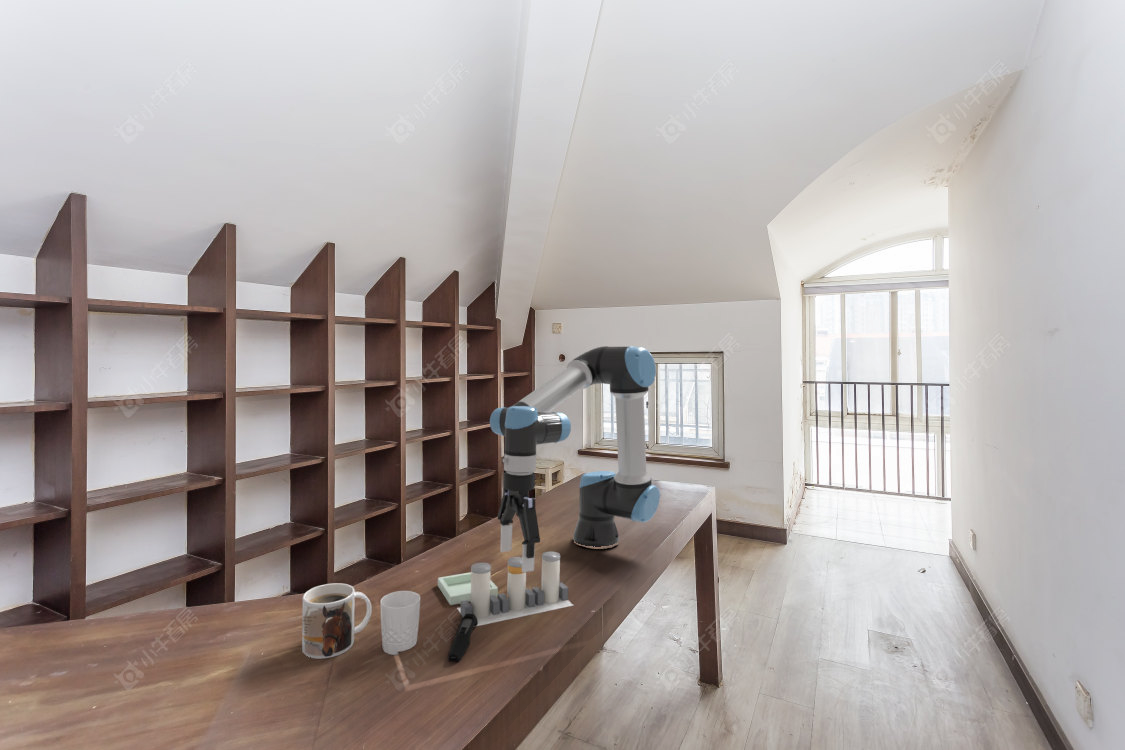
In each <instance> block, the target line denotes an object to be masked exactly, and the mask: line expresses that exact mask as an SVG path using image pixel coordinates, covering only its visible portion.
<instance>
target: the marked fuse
mask: <svg viewBox="0 0 1125 750" xmlns="http://www.w3.org/2000/svg"><path fill="white" fill-rule="evenodd" d="M506 585H507V587H506V588H507V590H506V592H507V593H506V597H507V598H508V599H509V610H512V611H520V610H523V609H524V608H525V598H526V589H527V572H522V556H513V557H510V558H508V559H507V584H506Z"/></svg>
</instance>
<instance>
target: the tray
mask: <svg viewBox="0 0 1125 750" xmlns="http://www.w3.org/2000/svg"><path fill="white" fill-rule="evenodd" d="M437 587H438V588H439V590H440V591H441V593H442V594H443V596H444V598H445V600H446V601H447V602H448V604H449V606H454V605H461V601H465V600H467V601H468V602H469V603H471V571H470V572H466V573H465V572H464V573H459V574H452V575H448V576H447V575H446V576H441V577H438V578H437ZM498 594H499V587H498V586H497V585H496V584H495V583H494V582H493V581H492V579H490V596H491V595H495V596H496V597H497V596H498Z"/></svg>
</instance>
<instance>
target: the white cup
mask: <svg viewBox="0 0 1125 750" xmlns="http://www.w3.org/2000/svg"><path fill="white" fill-rule="evenodd" d="M379 601H380V626H381V627H380V628H381V631H380V632H381V639H382V640H381V641H382V642H381V643H382V645H381V647H382V650H383V652H384V653H386V654H388V655H391V656H392V655H393V656H399V652H404V651H407V650H409V649H412V648H413V647H414V646H416V644H417V641H418V632H419V624H420V623H419V622H420V608H421V607H420V606H421V595H420V594H419V593H418V592H415V591H411V590H400V591H399V590H398V591H393V592H390V593H387V594H386V595H384V596H382V598H381V599H380V600H379Z"/></svg>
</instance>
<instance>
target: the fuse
mask: <svg viewBox="0 0 1125 750" xmlns="http://www.w3.org/2000/svg"><path fill="white" fill-rule="evenodd" d="M470 570H471V571H470V572H471V602H470V605H471V606H472V614H473V615H475V616H476V618H477V619H481V618H486V617H488V616H489V614H490V580H491V571H492V565H491V564H490V563H488V562H475V563H473V564H472V565H471V567H470Z"/></svg>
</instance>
